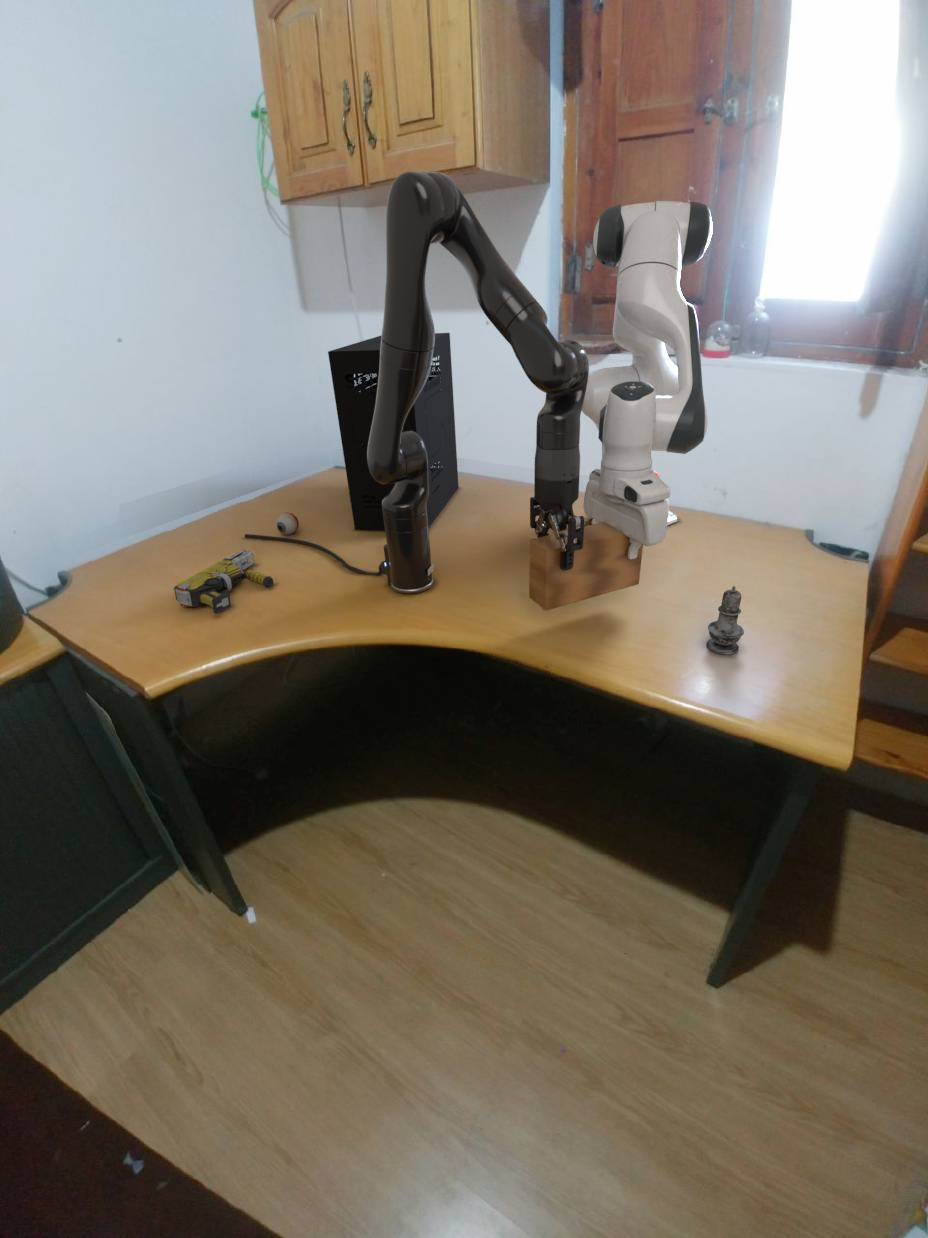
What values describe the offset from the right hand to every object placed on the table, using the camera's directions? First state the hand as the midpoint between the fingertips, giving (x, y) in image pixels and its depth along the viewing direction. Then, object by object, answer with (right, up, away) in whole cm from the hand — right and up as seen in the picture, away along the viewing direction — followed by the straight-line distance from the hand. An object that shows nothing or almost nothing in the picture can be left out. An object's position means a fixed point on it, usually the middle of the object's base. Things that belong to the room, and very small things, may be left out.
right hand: (618, 550), depth 115 cm
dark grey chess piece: (+16, -18, -8) cm, 26 cm away
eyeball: (-78, +10, +50) cm, 93 cm away
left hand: (-13, -3, -6) cm, 15 cm away
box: (-6, -8, +1) cm, 10 cm away
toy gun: (-81, -6, +22) cm, 84 cm away
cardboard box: (-45, +20, +64) cm, 81 cm away
